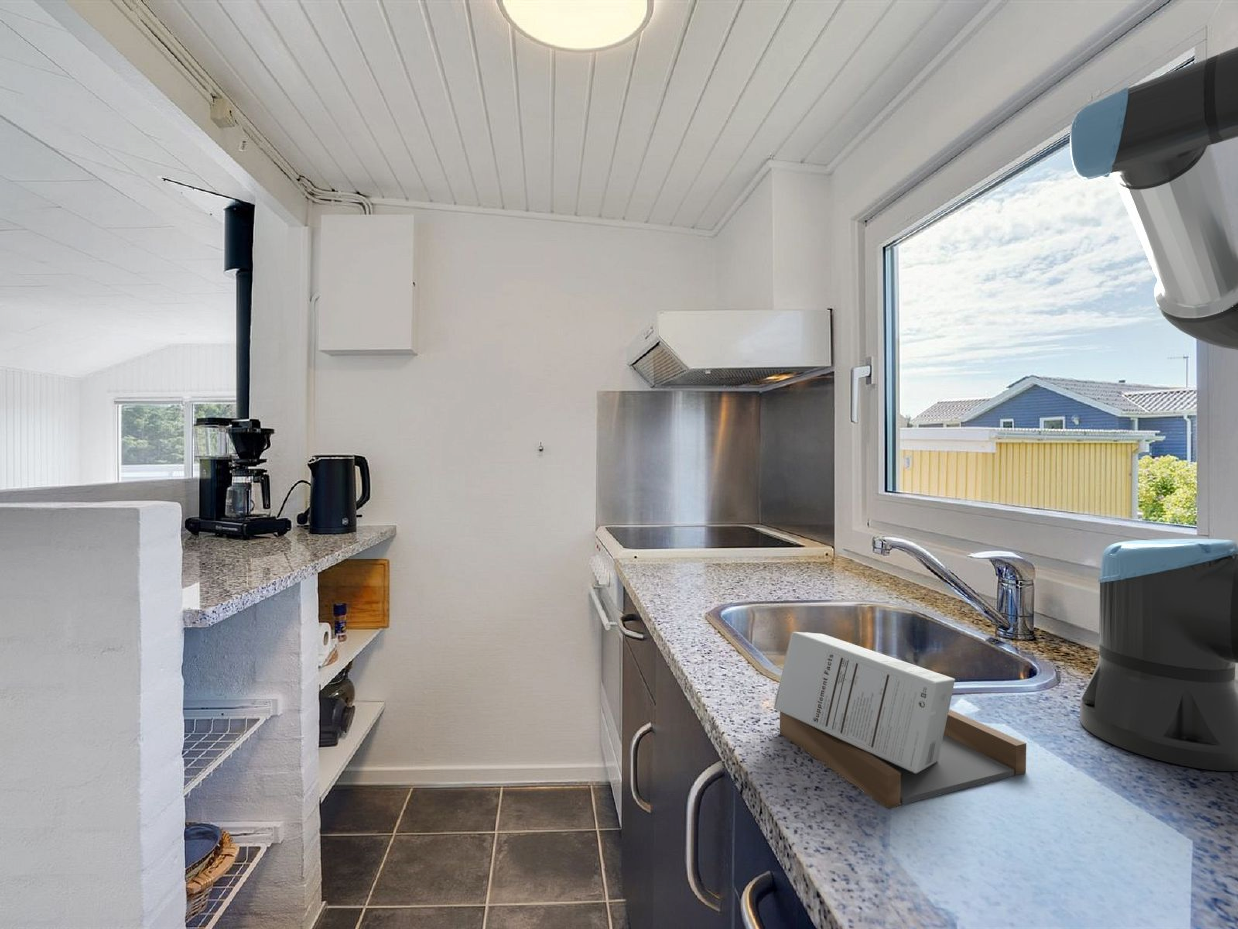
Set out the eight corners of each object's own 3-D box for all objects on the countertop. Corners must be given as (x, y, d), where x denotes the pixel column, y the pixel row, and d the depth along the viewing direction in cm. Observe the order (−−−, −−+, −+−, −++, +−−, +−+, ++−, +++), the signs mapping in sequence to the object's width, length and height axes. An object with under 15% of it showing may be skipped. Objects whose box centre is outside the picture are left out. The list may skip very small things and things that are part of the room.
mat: (889, 712, 75) (889, 708, 75) (1014, 775, 60) (1014, 769, 60) (792, 731, 70) (792, 725, 70) (902, 804, 55) (902, 798, 55)
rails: (900, 711, 76) (900, 687, 76) (1025, 772, 61) (1026, 743, 61) (779, 733, 69) (780, 707, 69) (887, 808, 54) (888, 775, 54)
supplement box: (939, 763, 62) (804, 704, 72) (957, 678, 63) (822, 631, 73) (915, 777, 55) (770, 710, 65) (936, 681, 56) (790, 629, 66)
